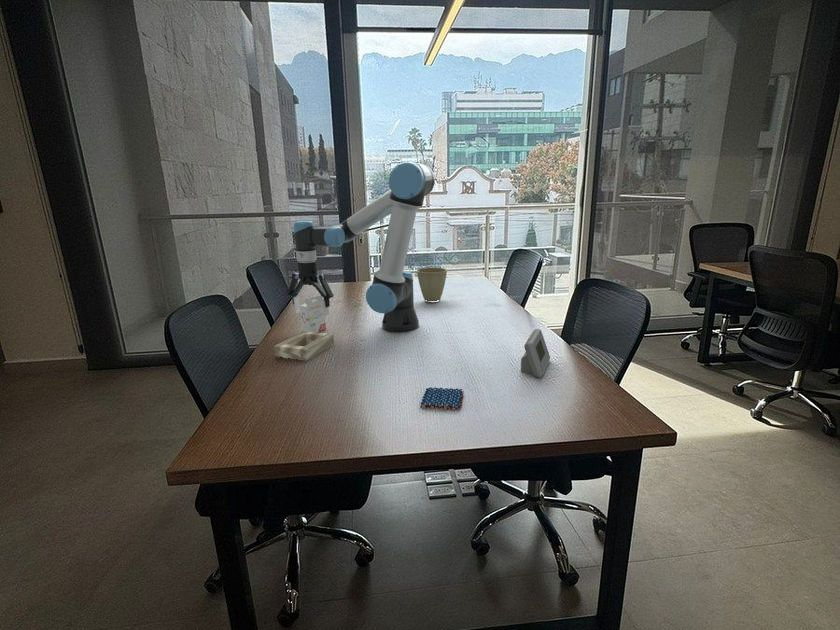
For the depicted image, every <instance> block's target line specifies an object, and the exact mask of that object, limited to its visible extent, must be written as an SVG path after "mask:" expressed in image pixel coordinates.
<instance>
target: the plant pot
mask: <svg viewBox="0 0 840 630" xmlns="http://www.w3.org/2000/svg"><path fill="white" fill-rule="evenodd" d="M447 271H448V270H447V268H443V267H423V268H418V269H417V270H416V274H417V280H418V284H419V289H420V291H421V294H422V297H423V300H424V301H425V300H427V301H437V300H440V301H441V298H442V296H443V292H444V288H445V284H446V280H447V273H448V272H447Z"/></svg>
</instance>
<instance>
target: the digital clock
mask: <svg viewBox="0 0 840 630" xmlns="http://www.w3.org/2000/svg"><path fill="white" fill-rule="evenodd" d="M524 351H525V352H524V353H523V356H522V357H521V360H520V372H522V373H528V374H533V376H534V377H535V378H541V377H542V376H544V373H545V372H546V370H547V367H548V364H549V362H550V360H551V356H550V353H549V350H548V347H547V343H546V340H545V338H544V334H543V332H542V330H541V329H540V328H536V329H534V330H533V331H532V333H531V334H530V336H529V337H528V338H527V340H526V342H525V344H524Z"/></svg>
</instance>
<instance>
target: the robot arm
mask: <svg viewBox="0 0 840 630" xmlns="http://www.w3.org/2000/svg"><path fill="white" fill-rule="evenodd" d="M435 180H436V179H435V174H434V172H433V170H432V169H431V167H429V166H428V165H426V164H424V163H419V162H414V161H405V162H400V163H399V164H397V165H396V166H394V167H393V168H392V169H391V172H390V173H389V178H388V186H389V190H388V191H386V192H385V193H383V194H382V195H380V196H379V197H377V198H376V199H374V200H373V201H372V202H370V203H369V204H366V206H364V207H363V208H361V209H360V210H358V211H357V212H355V213H354V214H353V215H351V216H349V217H348V218H346V219H345V220H343V221H342V222H340V223H338V224H335V225H334V224H333V225H328V226H327V225H326V226H316V225H315V224H314V222H313V221H312V220H296V221H295V222H294V223H293V236H294V245H295V253H296V261H297V264H296V265H297V271H298V272H297V271H296V272H293V273H292V274H291V281H290V283H289V287H288V289H287V293H286V294H287V296H290V297H291V298H292V299H291V301H292V304H293V305H294V314H297V313H300V306H299V305H301V302H300V301H301V300H300V296H299V293H300V292H301V290H302V289H303V287H304V286H307V285H308V286H312V287H314V288H315V289H316V291H317V292H318V294H320V295H321V296H322V303H323V314H324V316H325V317H326V316H328V315H329V314H330V312H329V311H330V309H329V307H330V305H331V304H330V303H331V302H330V299H331V298H333V297H334V293H333V291H332V289H331V287H330V285H329V283H328V281H327V279H326V276H325V273H321V274H318V262H317V261H316V260H317V250H316V249H317V248H316V247H323V248H324V247H326V248H327V247H330V248H338V247H342V246H343V244H344V243H349V242H351V241H353V240H355V239H356V238H357V236H359V234H361V233H363V232H365V231H366V230H367V229H369V228H371V227H372V226H374V225H375V224H377V223H378V222H380V221H381V220H383V219H385V218H386V217H388V216H389V215H390V216H389V217H390V218H389V220H388V221H389V222H388V226H387V227H388V228H387V231H386V237H385V240H384V247H383V250H382V256H381V261H380V266H379V269H378V270H376V271H375V272H374V274H373V280H372V283H371V285H370V286H368V288H367V290H366V292H365V300H366V301H365V302H366V303H367V305H368V306H369V308H370V309H371V310H372V311H374V312H375V313H377V314H383V317H382V321H381V325H382V326H381V327H382V329H383V330H385V331H387V332H394V333H395V332H396V333H397V332H399V333H400V332H401V333H404V332H410V331H413V330H416V329H418V327H419V325H420V323H419V322H420V321H419V318H418V315H417V312H416V309H415V305H414V304H415V303H414V302H415V298H414V277H413V273H412V272H411V271H404V269H405V264H406V260H407V254H408V250H409V246H410V242H411V237H412V233H413V228H414V225H415V220H416V215H417V211H419V210H420V209H421V208H422V207H423V206H424V205H423V204H424V200H425V197H426V196H427V195H429V194H430V193H431V191H433V189H434V186H435V182H436V181H435Z"/></svg>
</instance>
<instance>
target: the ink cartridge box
mask: <svg viewBox="0 0 840 630" xmlns="http://www.w3.org/2000/svg"><path fill="white" fill-rule="evenodd" d="M314 300H315V301H314ZM322 300H323V297H322V296H321V294H320V295H317V296H312V297H309V298H306V299H305V302H306V303H304V304H300V305H299V306H300V312H299V313H300V314H299V315H300V320H301V321H300V322H301V328H302V332H303V331H308V332H318V333H321V332H323V331H325V330H327V325H326V316H324V314H323V303H322Z"/></svg>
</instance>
